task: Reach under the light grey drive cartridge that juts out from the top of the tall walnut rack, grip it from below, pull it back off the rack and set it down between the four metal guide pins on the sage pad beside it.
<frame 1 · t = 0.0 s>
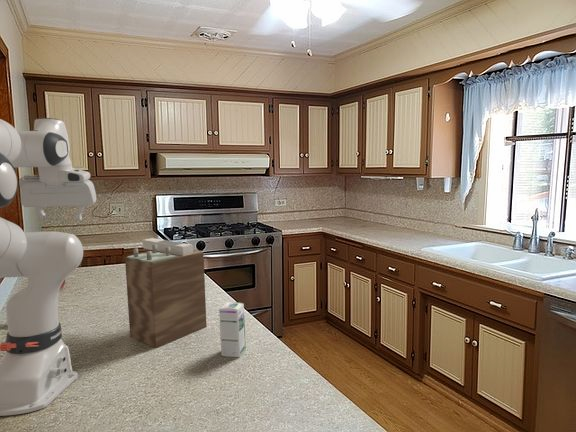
hand: (62, 220, 126), 39 cm above the countertop, tool pointing down, fingers open, 8 cm apart
syrup box: (233, 353, 123), on the countertop
pomegranate: (53, 290, 188), on the countertop
drive: (167, 250, 142), point 26 cm above the countertop, touching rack
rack: (169, 331, 139), on the countertop
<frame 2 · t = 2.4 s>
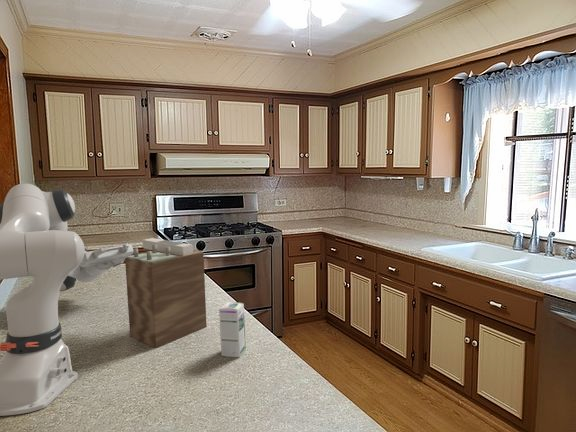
hand: (115, 247, 157), 25 cm above the countertop, tool pointing upward, fingers open, 8 cm apart
nothing on the countertop moved.
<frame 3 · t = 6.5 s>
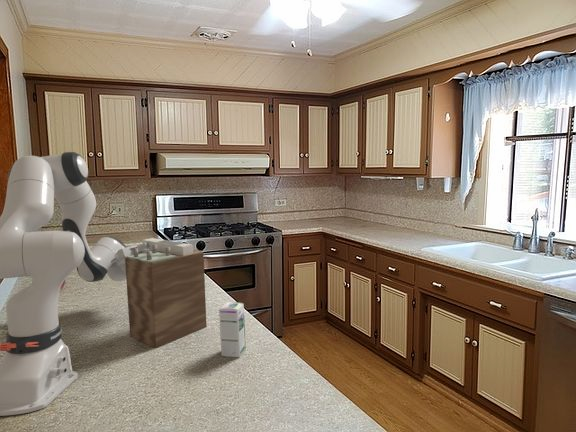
hand: (153, 242, 146), 28 cm above the countertop, tool pointing upward, fingers closed on drive, 4 cm apart
drive: (167, 250, 142), point 26 cm above the countertop, touching gripper, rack
everything else where it was.
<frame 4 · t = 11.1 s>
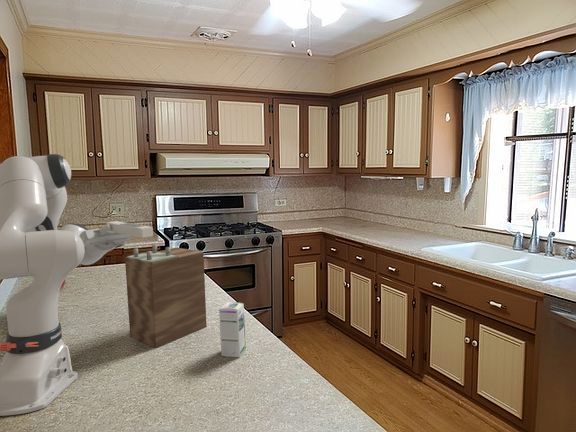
hand: (117, 225, 150), 34 cm above the countertop, tool pointing upward, fingers closed on drive, 4 cm apart
drive: (129, 233, 146), point 32 cm above the countertop, touching gripper
everything else where it was.
when the fingers open (30 cm above the countertop, at t = 15.8 s): drive drops 1 cm, resting on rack.
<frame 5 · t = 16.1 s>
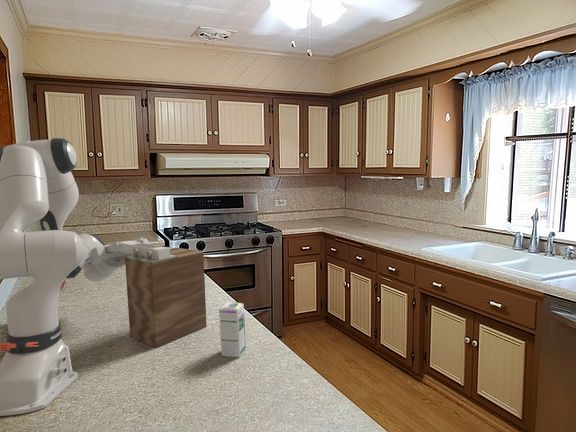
hand: (130, 241, 139), 30 cm above the countertop, tool pointing upward, fingers open, 7 cm apart
drive: (143, 254, 135), point 26 cm above the countertop, touching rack
everything else where it was.
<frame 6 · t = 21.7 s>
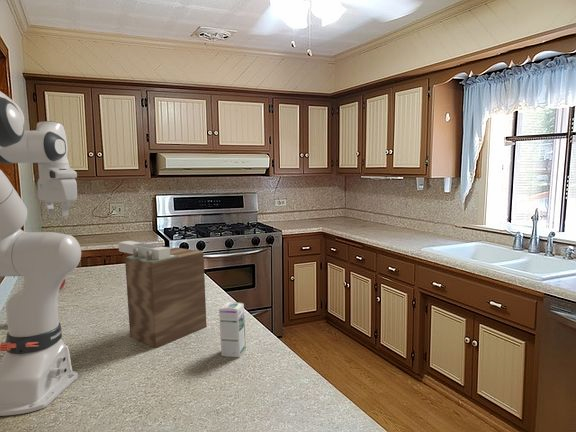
hand: (58, 215, 138), 39 cm above the countertop, tool pointing down, fingers open, 8 cm apart
nothing on the countertop moved.
at the end: drive 0.2 cm from the target spot on the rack, point 26.5 cm above the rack's base; drive touching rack; the gripper is holding nothing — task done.
